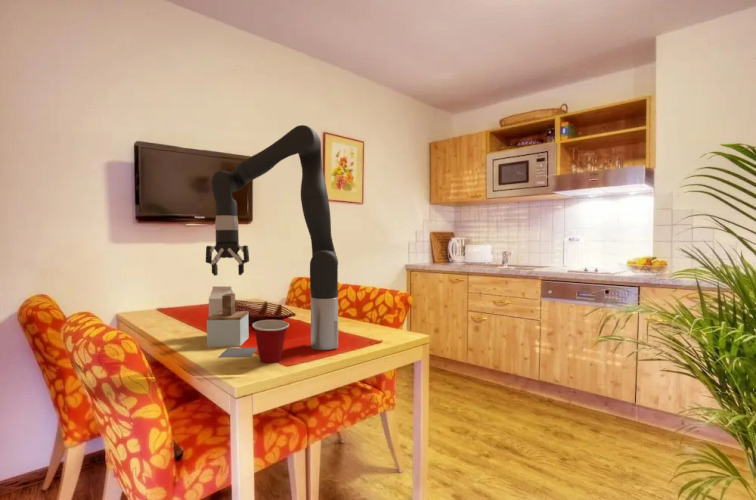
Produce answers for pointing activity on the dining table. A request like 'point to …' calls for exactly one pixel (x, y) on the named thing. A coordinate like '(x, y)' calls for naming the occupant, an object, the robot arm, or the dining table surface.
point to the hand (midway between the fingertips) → (227, 275)
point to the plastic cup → (270, 339)
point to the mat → (238, 352)
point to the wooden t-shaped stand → (228, 310)
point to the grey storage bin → (227, 332)
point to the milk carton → (217, 298)
